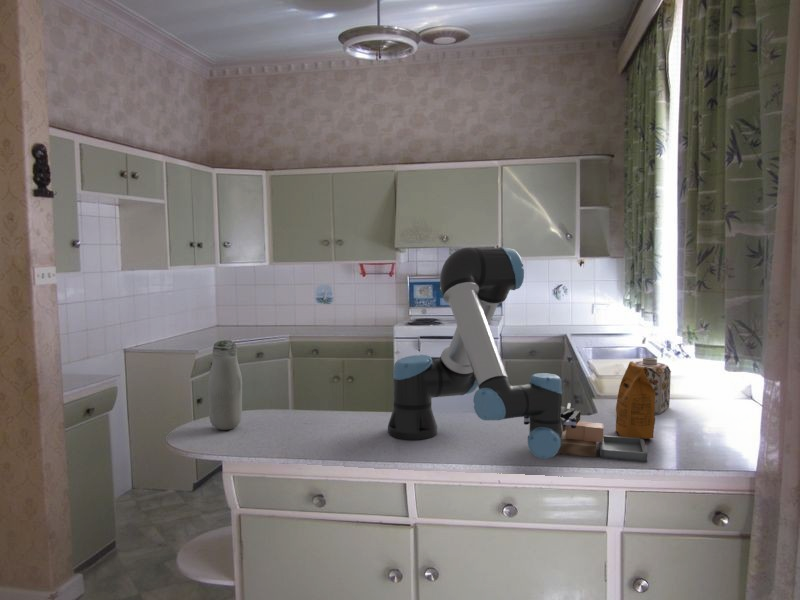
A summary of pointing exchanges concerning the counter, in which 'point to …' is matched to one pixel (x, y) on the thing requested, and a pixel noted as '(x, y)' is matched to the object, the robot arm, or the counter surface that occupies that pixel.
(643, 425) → the coffee package
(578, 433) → the salmon pink block
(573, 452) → the board
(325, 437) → the counter surface
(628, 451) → the tray
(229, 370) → the glass bottle
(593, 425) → the salmon orange block
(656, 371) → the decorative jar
